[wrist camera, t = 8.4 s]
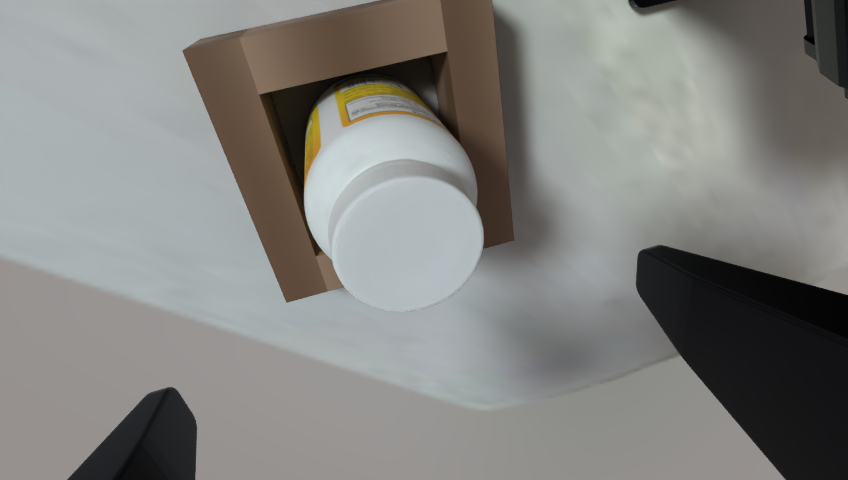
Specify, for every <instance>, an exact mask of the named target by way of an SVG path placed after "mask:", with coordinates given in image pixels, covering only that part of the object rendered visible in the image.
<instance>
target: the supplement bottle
mask: <svg viewBox="0 0 848 480" xmlns="http://www.w3.org/2000/svg"><path fill="white" fill-rule="evenodd" d="M304 176H305V177H304V207H305V215H306V219H307V222H308V226H309V229H310V231H311V233H312V235H313V237H314V239H315V240H316V242H317V244H318V245H319V247H320V248H321V249H322V250H323V252H324V253H325V254H326V255H327V256H328V257H329V258H330V259H332V262H333V267H334V269H335V271H336V274H337V276H338V278H339V279H340V281H341V283H342V284H343V286H344V287H345V288H346V289H347V290H348V291H349V292H350V293H351V294H352V295H353V296H354V297H356V298H357V299H358V300H360V301H362V302H363V303H365V304H367V305H369V306H372V307H375V308H378V309H382V310H386V311H392V312H408V311H416V310H420V309H424V308H428V307H431V306H433V305H436V304H438V303H440V302H442V301H444V300H446V299H447V298H449V297H450V296H452V295H453V294H454V293H455V292H457V291H458V290H459V289H460V288H461V287H462V286H463V285H464V284H465V283H466V282H467V281H468V279H469V278H470V277H471V276H472V274H473V272H474V271H475V269H476V267H477V265H478V263H479V260H480V257H481V254H482V251H483V244H484V229H483V225H482V221H481V217H480V215H479V212H478V210H477V208H476V205H477V183H476V177H475V173H474V170H473V167H472V164H471V162H470V160H469V158H468V156H467V154H466V152H465V151H464V149H463V148H462V146H461V145H460V144H459V142H458V141H457V140H456V139H455V138H454V137H453V135H452V134H451V133H450V132H449V131H448V130H447V129H446V127H445V126H444V125H443V124H442V123H441V122H440V121H439V119H438V118H437V117H436V116H435V115H434V114H433V112H432V111H431V110H430V109H429V108H428V107H427V106H426V104H425V103H424V102H423V101H422V100H421V99H420V97H419V96H418V95H417V94H416V93H415V92H414V91H413V90H411V89H410V88H409V87H408V86H406V85H405V84H403V83H402V82H400V81H398V80H396V79H394V78H391V77H388V76H385V75H379V74H359V75H354V76H350V77H347V78H345V79H342V80H340V81H338V82H336V83H335V84H333V85H332V86H330V87H329V88H328V89H327V90H326V91H325V92H324V93H323V94H322V95H321V96H320V97H319V98H318V100H317V101H316V103H315V104H314V106H313V108H312V110H311V112H310V114H309V117H308V121H307V125H306V134H305V173H304Z"/></svg>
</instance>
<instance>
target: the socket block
mask: <svg viewBox="0 0 848 480" xmlns="http://www.w3.org/2000/svg"><path fill="white" fill-rule="evenodd" d="M183 53H184V56H185V58H186V61H187V63H188V66H189V68H190V70H191V73H192V75H193V78H194V80H195V82H196V85H197V87H198V90H199V92H200V95H201V97H202V99H203V102H204V104H205V107H206V109H207V111H208V114H209V116H210V119H211V121H212V124H213V126H214V128H215V131H216V133H217V136H218V138H219V140H220V143H221V145H222V148H223V150H224V153H225V155H226V157H227V160H228V162H229V165H230V167H231V169H232V172H233V174H234V177H235V179H236V182H237V184H238V186H239V189H240V191H241V194H242V196H243V198H244V201H245V203H246V206H247V208H248V211H249V213H250V215H251V218H252V220H253V223H254V225H255V228H256V230H257V232H258V235H259V237H260V240H261V242H262V244H263V247H264V249H265V252H266V254H267V257H268V259H269V261H270V264H271V266H272V269H273V271H274V273H275V276H276V278H277V281H278V283H279V286H280V288H281V290H282V293H283V295H284V298H285V300H286V302H291V301H294V300H298V299H302V298H305V297H309V296H312V295H316V294H320V293H323V292H327V291H331V290H334V289H338V288H342V287H344V286H343V284H342V283H341V281H340V279H339V278H338V276H337V274H336V271H335V269H334V267H333V262H332V259H330V258H329V257H328V256H327V255H326V254H325V253H324V252H323V250H322V249H321V248H320V247H319V245H318V244H317V242H316V240H315V239H314V237H313V235H312V233H311V231H310V229H309V226H308V222H307V219H306V215H305V207H304V191H303V188H302V185H301V182H300V179H299V176H298V173H297V170H296V167H295V164H294V162H293V159H292V156H291V153H290V150H289V147H288V144H287V141H286V138H285V135H284V132H283V129H282V126H281V123H280V120H279V117H278V114H277V111H276V108H275V105H274V102H273V99H272V96H271V94H270V92H272V91H276V90H281V89H285V88H289V87H294V86H298V85H302V84H307V83H311V82H315V81H320V80H324V79H328V78H333V77H337V76H342V75H346V74H350V73H355V72H359V71H363V70H368V69H372V68H376V67H381V66H385V65H390V64H394V63H398V62H403V61H407V60H411V59H416V58H420V57H424V56H429V55H430V56H431V62H432V69H433V75H434V81H435V87H436V94H437V100H438V106H439V112H440V118H441V123H442V124H443V125H444V126H445V127H446V129H447V130H448V131H449V132H450V133H451V134H452V135H453V137H454V138H455V139H456V140H457V141H458V142H459V144H460V145H461V146H462V148H463V149H464V151H465V152H466V154H467V156H468V158H469V160H470V162H471V164H472V167H473V170H474V173H475V177H476V183H477V205H476V208H477V210H478V212H479V215H480V217H481V221H482V225H483V229H484V244H483V249H484V248H488V247H491V246H495V245H499V244H502V243H506V242H510V241H513V240H514V234H513V223H512V212H511V201H510V190H509V179H508V168H507V157H506V147H505V136H504V125H503V114H502V103H501V92H500V81H499V70H498V59H497V48H496V38H495V27H494V16H493V5H492V0H380V1H375V2H371V3H366V4H361V5H357V6H352V7H347V8H343V9H338V10H334V11H329V12H324V13H320V14H315V15H310V16H306V17H301V18H296V19H292V20H287V21H282V22H278V23H273V24H269V25H264V26H259V27H255V28H250V29H245V30H241V31H236V32H231V33H227V34H222V35H217V36H213V37H208V38H204V39H200V40H198V41H197V42H195V43H194V44H192V45H190V46H189V47H187V48H186V49H184V50H183Z"/></svg>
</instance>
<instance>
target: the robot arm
mask: <svg viewBox="0 0 848 480" xmlns="http://www.w3.org/2000/svg"><path fill="white" fill-rule="evenodd" d="M671 1H675V0H629V3H630V4H631V5H632V6H634V7H639V8H645V7H649V6H653V5H658V4H662V3H667V2H671ZM804 5H805V16H806V27H807V35H806V36H804V46H805V53H806V54H807V55H809V56H810V57H812V58H814V59H815V60H817V62H818V66H819V70H820V73H821V74H823V75H824V76H825V77H827V78H828V79H830V80H831V81H832V82H834V83H835V84H837V85H838V86H840V87H843V88H844V91H845V98H847V99H848V0H804ZM636 287H637V291H638V293H639V295H640V297H641V298H642V300H643V301H644V303H645V304H646V306H647V307H648V309H649V310H650V312H651V313H652V314H653V316H654V317H655V319H656V320H657V322H658V323H659V325H660V326H661V328H662V329H663V331H664V332H665V334H666V335H667V336H668V338H669V339H670V341H671V342H672V344H673V345H674V347H675V348H676V349H677V351H678V352H679V354H680V355H681V356H682V358H683V359H684V360H685V361H686V362H687V364H688V365H689V366H690V367H691V369H692V370H693V371H694V372H695V373H696V375H697V376H698V377H699V378H700V379H701V380H702V382H704V384H705V385H706V386H707V387H708V389H709V390H710V391H711V392H712V393H713V395H714V396H715V397H716V398H717V399H718V400H719V401H720V403H721V404H722V405H723V406H724V408H725V409H726V410H727V411H728V412H729V413H730V414H731V416H732V417H733V418H734V419H735V420H736V422H737V423H738V424H739V425H740V426H741V427H742V429H743V430H744V431H745V432H746V433H747V434H748V436H749V437H750V438H751V439H752V441H753V442H754V443H755V444H756V445H757V446H758V448H759V449H760V450H761V451H762V452H763V453H764V455H765V456H766V457H767V458H768V459H769V461H770V462H771V463H772V464H773V465H774V466H775V468H776V469H777V470H778V471H779V472H780V473H781V474H782V476H783V477H784V478H785V479H786V480H848V295H845V294H842V293H838V292H834V291H830V290H827V289H823V288H819V287H816V286H812V285H808V284H804V283H801V282H797V281H793V280H790V279H786V278H782V277H778V276H775V275H771V274H767V273H764V272H760V271H756V270H752V269H749V268H745V267H741V266H737V265H734V264H730V263H726V262H723V261H719V260H715V259H711V258H708V257H704V256H700V255H697V254H693V253H689V252H685V251H682V250H678V249H674V248H671V247H667V246H663V245H657V246H653V247H650V248H646V249H643V250H641V251H640V252H639V254H638V258H637V275H636ZM196 441H197V425H196V420H195V417H194V415H193V414H192V412H191V411H190V409H189V408H188V406H187V404H186V403H185V401H184V400H183V398H182V397H181V395H180V394H179V392H178V391H177V390H176V389H175V388H173V387H168V388H165V389H161V390H158V391H154V392H151V393H149V394H147V395H146V396H145V397H144V398H143V399H142V400H141V401H140V402H139V404H138V405H137V406H136V407H135V408H134V409H133V410H132V411H131V412H130V413H129V414H128V415H127V416H126V417H125V418H124V420H123V421H122V422H121V423H120V424H119V425H118V426H117V427H116V428H115V429H114V430H113V431H112V432H111V434H110V435H109V436H108V437H107V438H106V439H105V440H104V441H103V442H102V443H101V444H100V445H99V446H98V447H97V448H96V450H95V451H94V452H93V453H92V454H91V455H90V456H89V457H88V458H87V459H86V460H85V461H84V462H83V463H82V464H81V466H80V467H79V468H78V469H77V470H76V471H75V472H74V473H73V474H72V475H71V476H70V477H69V478H68V480H195V472H196Z"/></svg>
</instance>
